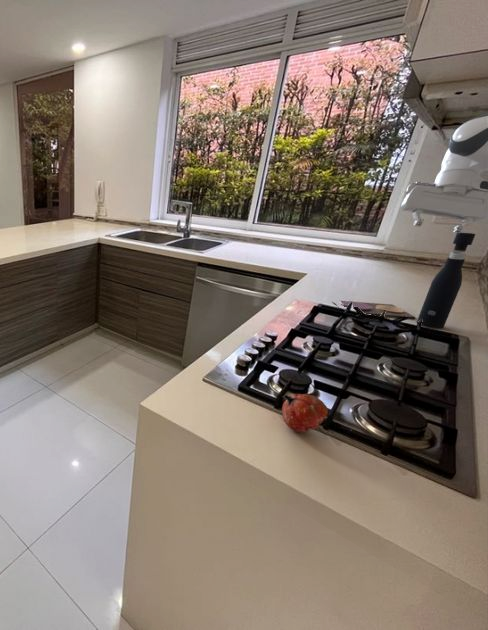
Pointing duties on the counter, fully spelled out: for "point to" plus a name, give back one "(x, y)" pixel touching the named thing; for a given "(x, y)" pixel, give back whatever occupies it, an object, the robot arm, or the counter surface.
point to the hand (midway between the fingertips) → (437, 228)
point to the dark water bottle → (445, 285)
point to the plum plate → (358, 305)
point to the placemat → (387, 310)
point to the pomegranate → (303, 412)
